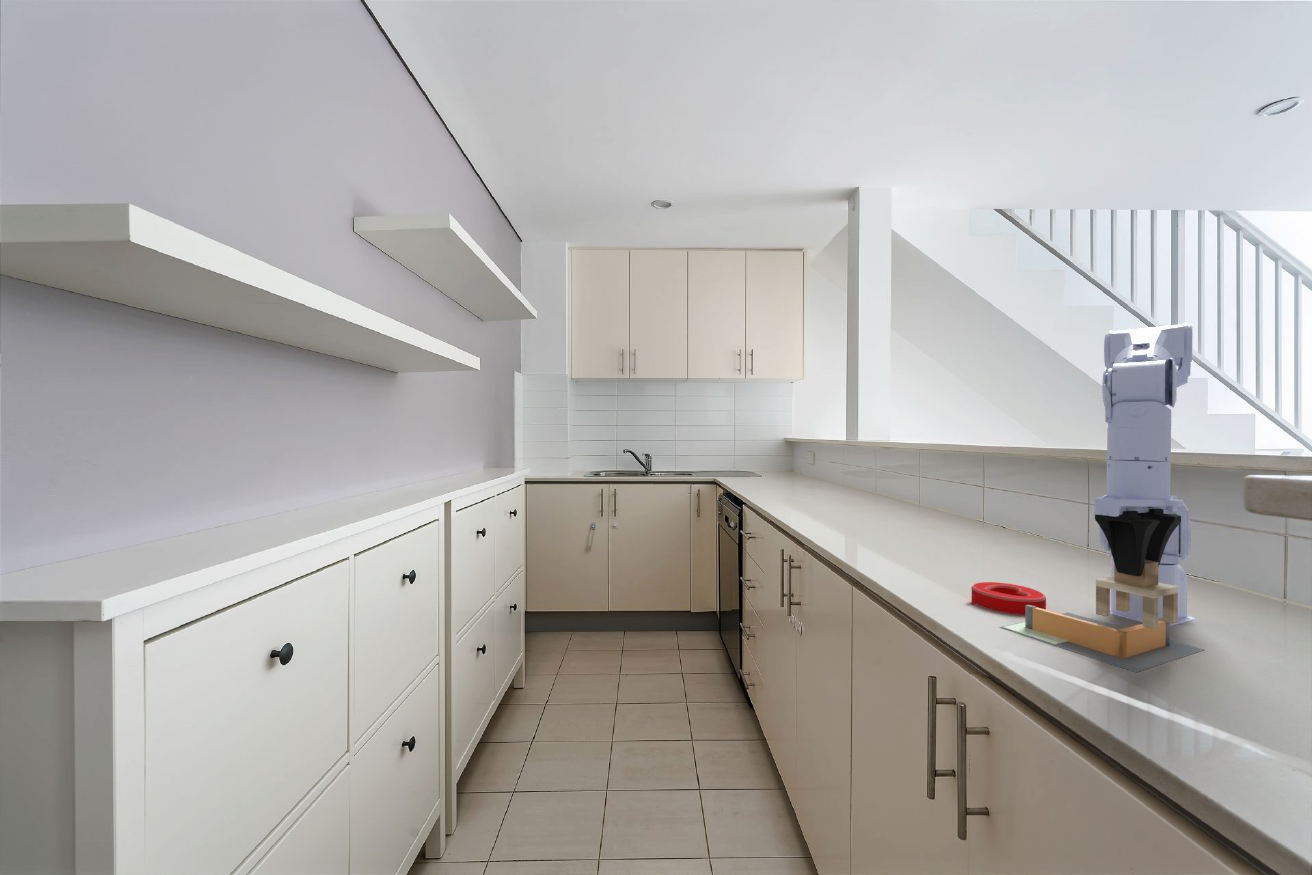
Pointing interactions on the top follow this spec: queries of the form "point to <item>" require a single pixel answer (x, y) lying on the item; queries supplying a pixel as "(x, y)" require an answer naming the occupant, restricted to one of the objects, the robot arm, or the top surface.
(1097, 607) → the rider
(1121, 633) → the rail
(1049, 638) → the end pad
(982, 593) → the decorative ornament
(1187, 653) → the mat
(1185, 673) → the top surface
